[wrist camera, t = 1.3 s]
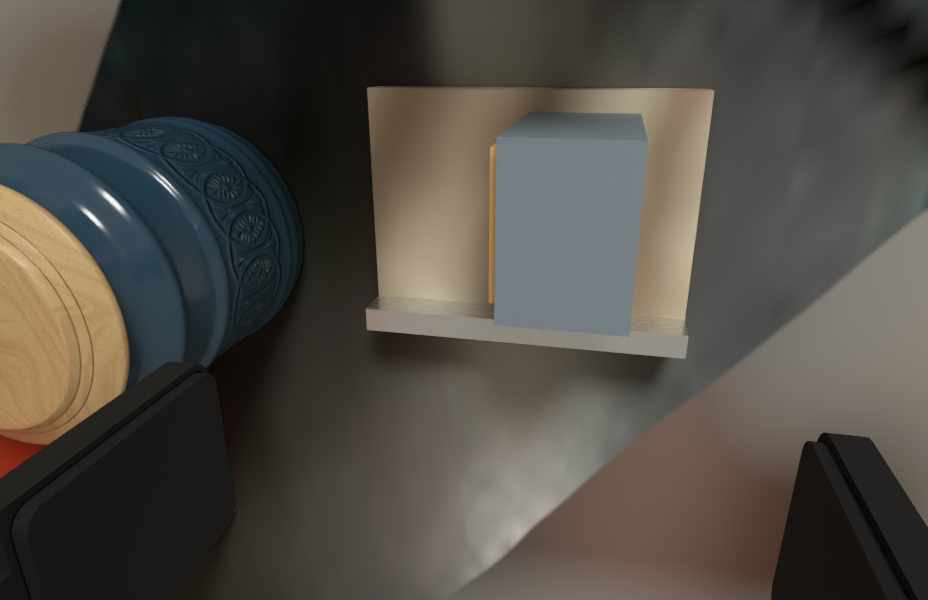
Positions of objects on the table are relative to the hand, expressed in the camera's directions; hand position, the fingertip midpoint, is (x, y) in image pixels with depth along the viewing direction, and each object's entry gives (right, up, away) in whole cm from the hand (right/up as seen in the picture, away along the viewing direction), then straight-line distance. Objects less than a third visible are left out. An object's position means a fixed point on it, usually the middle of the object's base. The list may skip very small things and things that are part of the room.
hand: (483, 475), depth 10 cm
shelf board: (+3, +7, +23) cm, 25 cm away
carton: (+5, +8, +21) cm, 23 cm away
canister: (-15, +7, +28) cm, 33 cm away
